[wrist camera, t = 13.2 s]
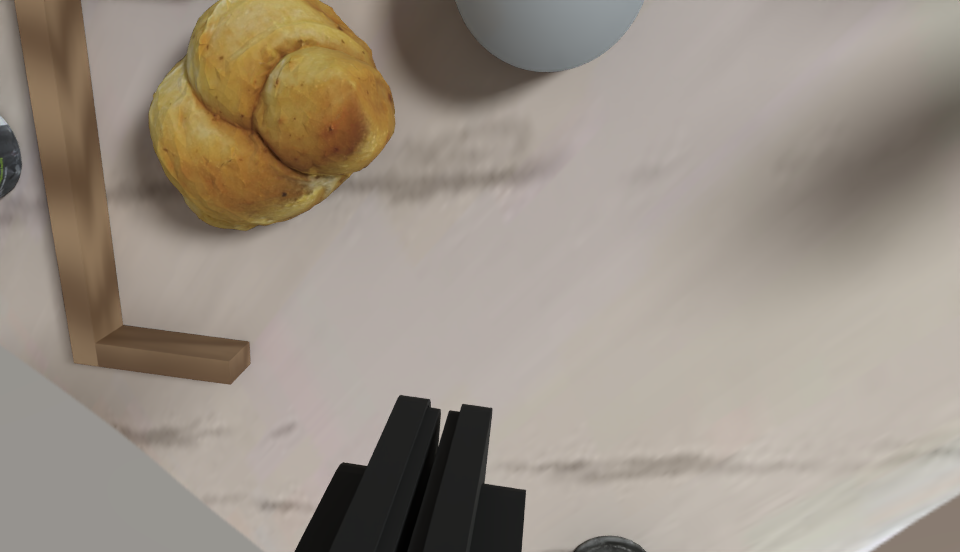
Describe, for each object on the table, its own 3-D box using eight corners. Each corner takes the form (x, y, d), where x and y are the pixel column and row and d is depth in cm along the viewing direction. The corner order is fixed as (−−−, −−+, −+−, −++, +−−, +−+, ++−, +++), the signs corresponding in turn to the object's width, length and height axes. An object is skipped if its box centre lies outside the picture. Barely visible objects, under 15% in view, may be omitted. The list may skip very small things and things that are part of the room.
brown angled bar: (42, -76, 31) (0, -85, 29) (228, -61, 30) (200, -70, 28) (102, 344, 39) (74, 363, 37) (250, 363, 38) (230, 384, 36)
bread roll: (264, 253, 36) (187, 309, 28) (141, 113, 34) (23, 133, 26) (438, 113, 32) (401, 135, 25) (311, -55, 30) (229, -86, 23)
